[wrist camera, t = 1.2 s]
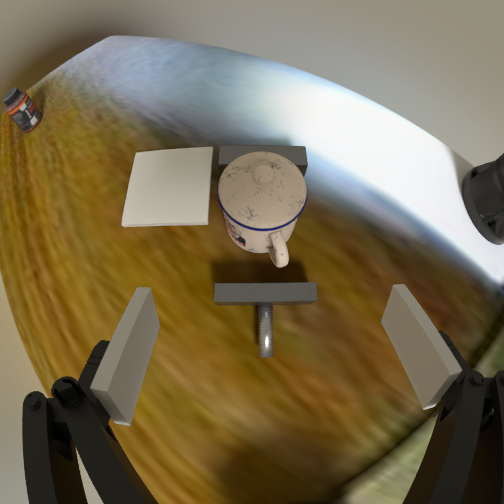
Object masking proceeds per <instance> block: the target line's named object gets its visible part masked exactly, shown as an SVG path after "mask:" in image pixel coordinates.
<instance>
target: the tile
mask: <svg viewBox="0 0 504 504" xmlns="http://www.w3.org/2000/svg"><path fill="white" fill-rule="evenodd" d="M212 162H213V147H196V148H180V149H167V150H156V151H146V152H137V153H136V155H135V160H134V164H133V168H132V172H131V177H130V181H129V186H128V191H127V196H126V201H125V207H124V212H123V218H122V224H121V225H122V226H123V227H136V226H170V225H208V222H209V205H210V189H211V175H212Z"/></svg>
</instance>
